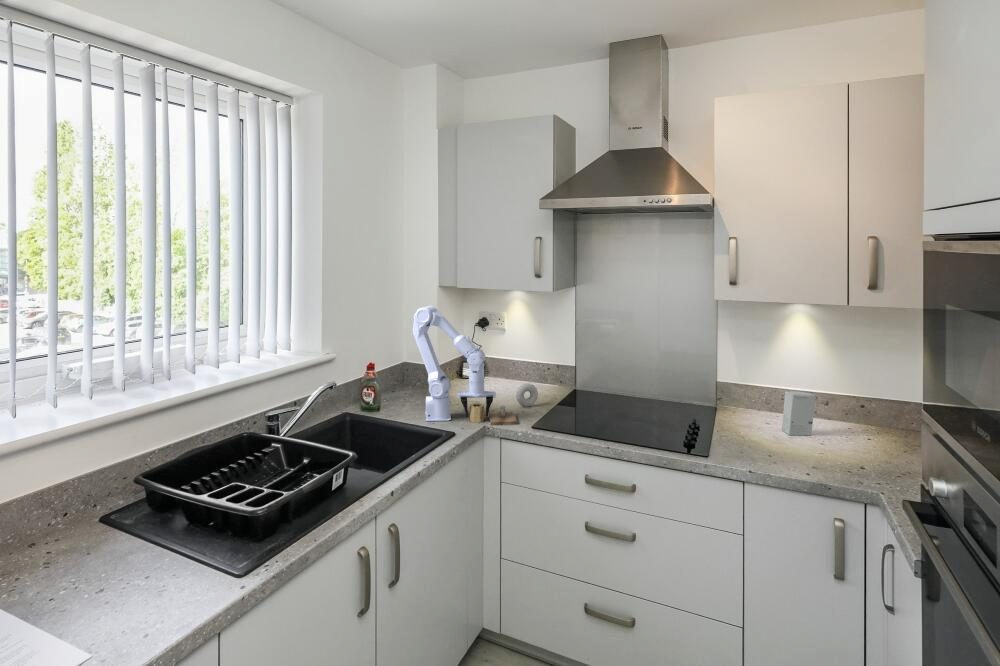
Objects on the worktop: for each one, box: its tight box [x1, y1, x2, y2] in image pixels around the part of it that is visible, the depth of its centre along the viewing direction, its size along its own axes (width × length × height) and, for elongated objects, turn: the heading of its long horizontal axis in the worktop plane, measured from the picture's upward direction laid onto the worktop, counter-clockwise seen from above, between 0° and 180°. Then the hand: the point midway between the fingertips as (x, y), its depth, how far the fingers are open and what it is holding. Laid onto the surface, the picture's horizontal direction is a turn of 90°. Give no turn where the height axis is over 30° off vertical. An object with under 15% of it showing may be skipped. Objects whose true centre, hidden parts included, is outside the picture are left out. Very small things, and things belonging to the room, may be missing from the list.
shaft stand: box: [488, 405, 518, 426], centre depth 216 cm, size 10×13×6 cm
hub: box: [469, 403, 485, 423], centre depth 215 cm, size 5×5×6 cm
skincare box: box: [781, 390, 816, 436], centre depth 200 cm, size 8×6×15 cm
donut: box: [515, 382, 539, 407], centre depth 235 cm, size 10×4×10 cm, turn 113°
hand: (476, 415), depth 215 cm, fingers open, 7 cm apart
